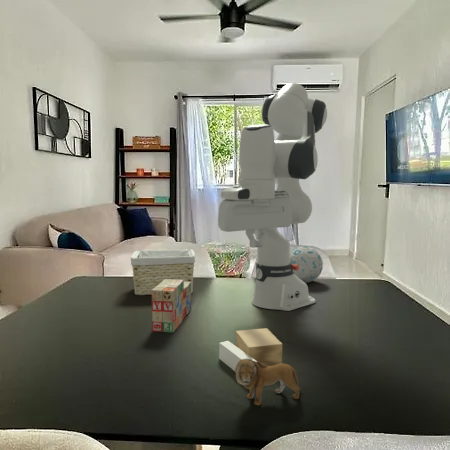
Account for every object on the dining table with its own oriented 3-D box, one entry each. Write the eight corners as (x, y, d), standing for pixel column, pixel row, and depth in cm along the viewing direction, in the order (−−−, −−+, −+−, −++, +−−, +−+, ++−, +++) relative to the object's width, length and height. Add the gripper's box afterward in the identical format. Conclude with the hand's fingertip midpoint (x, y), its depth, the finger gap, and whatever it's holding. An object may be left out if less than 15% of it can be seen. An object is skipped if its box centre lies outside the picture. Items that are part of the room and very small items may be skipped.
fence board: (228, 356, 97) (228, 340, 97) (257, 379, 86) (258, 362, 85) (219, 358, 96) (219, 342, 96) (248, 382, 85) (248, 364, 84)
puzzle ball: (314, 288, 159) (315, 251, 157) (279, 283, 167) (280, 247, 165) (327, 280, 171) (328, 246, 170) (294, 276, 179) (295, 243, 178)
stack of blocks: (173, 308, 134) (173, 272, 133) (191, 309, 133) (191, 272, 132) (151, 331, 113) (151, 289, 112) (173, 333, 112) (172, 290, 111)
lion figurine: (241, 414, 73) (242, 367, 72) (229, 399, 78) (230, 355, 77) (308, 397, 79) (309, 353, 78) (293, 384, 84) (294, 343, 83)
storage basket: (130, 296, 147) (129, 257, 145) (135, 285, 163) (134, 249, 161) (195, 295, 149) (195, 256, 148) (194, 284, 165) (194, 248, 164)
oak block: (266, 351, 101) (266, 328, 100) (281, 369, 91) (282, 343, 91) (235, 354, 99) (236, 331, 98) (248, 373, 89) (248, 347, 89)
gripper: (282, 190, 106) (281, 241, 108) (214, 191, 96) (214, 248, 98) (298, 191, 101) (296, 245, 103) (228, 192, 91) (228, 252, 93)
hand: (256, 246), depth 100 cm, fingers closed
